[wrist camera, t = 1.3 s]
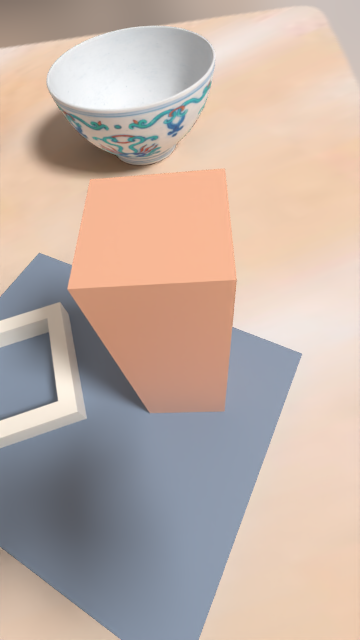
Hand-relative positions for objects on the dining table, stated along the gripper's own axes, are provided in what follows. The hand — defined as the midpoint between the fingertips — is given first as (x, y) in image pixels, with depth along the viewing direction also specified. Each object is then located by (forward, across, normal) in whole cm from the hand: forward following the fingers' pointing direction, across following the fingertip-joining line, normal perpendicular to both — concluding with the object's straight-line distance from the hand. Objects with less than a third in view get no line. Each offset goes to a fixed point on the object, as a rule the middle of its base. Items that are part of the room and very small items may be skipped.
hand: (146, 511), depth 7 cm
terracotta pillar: (+14, 0, +3) cm, 14 cm away
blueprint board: (+14, +6, +5) cm, 16 cm away
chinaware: (+34, +4, -15) cm, 37 cm away
